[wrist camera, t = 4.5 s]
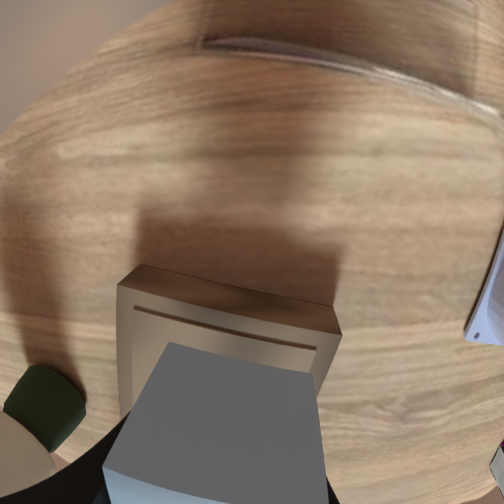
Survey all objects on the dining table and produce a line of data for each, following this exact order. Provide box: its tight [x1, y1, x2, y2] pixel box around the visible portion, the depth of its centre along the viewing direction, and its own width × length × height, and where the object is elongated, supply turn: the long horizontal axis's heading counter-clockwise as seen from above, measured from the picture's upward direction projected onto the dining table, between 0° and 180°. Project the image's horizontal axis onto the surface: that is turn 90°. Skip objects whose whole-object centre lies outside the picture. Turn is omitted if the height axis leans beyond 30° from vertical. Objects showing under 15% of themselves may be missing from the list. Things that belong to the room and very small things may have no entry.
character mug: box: [0, 365, 86, 497], centre depth 15 cm, size 11×7×13 cm, turn 15°
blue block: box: [102, 341, 329, 504], centre depth 8 cm, size 5×5×6 cm
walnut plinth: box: [116, 264, 342, 420], centre depth 17 cm, size 11×11×3 cm
